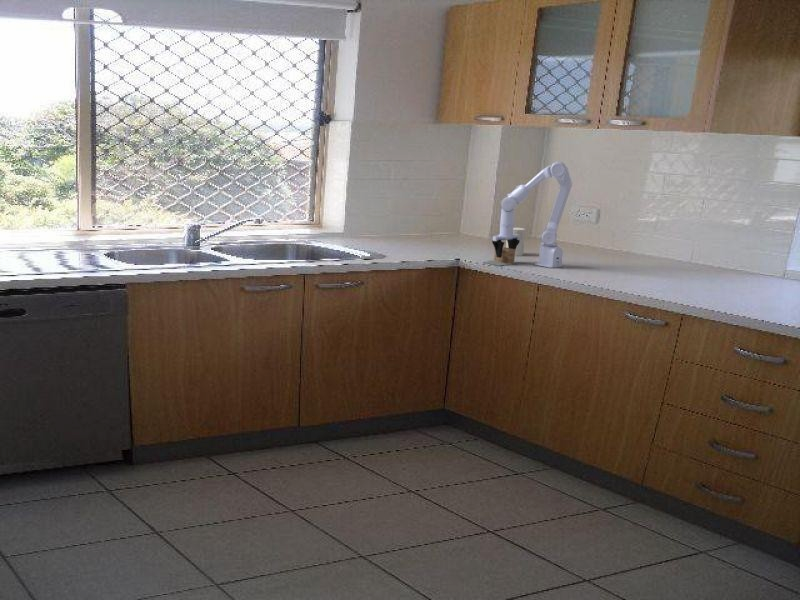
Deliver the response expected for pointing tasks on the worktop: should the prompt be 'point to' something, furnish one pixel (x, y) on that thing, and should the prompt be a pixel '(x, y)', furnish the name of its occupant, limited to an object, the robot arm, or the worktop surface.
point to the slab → (506, 256)
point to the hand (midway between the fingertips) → (504, 256)
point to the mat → (497, 263)
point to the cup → (520, 246)
